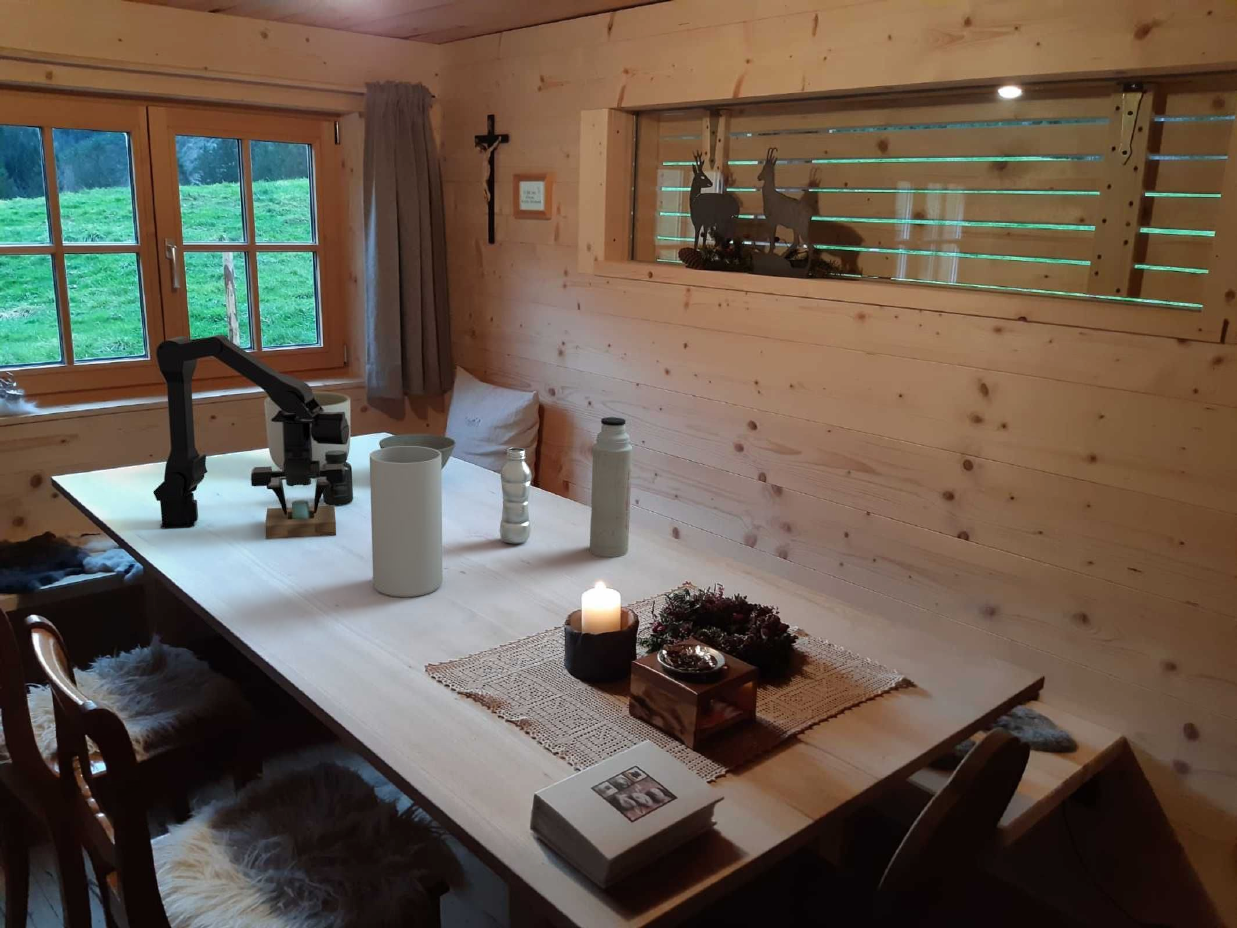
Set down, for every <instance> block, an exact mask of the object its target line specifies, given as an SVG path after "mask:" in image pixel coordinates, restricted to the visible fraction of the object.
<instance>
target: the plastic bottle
mask: <svg viewBox="0 0 1237 928" xmlns="http://www.w3.org/2000/svg"><path fill="white" fill-rule="evenodd" d="M506 452H507V453H506V459H507V462H506V463H505V464H504V465H503V468H502V469H501V472H500V484H501V489H502V511H501V519H500V520H501V521H500V524H499V534H500V535H499V536H500V538H501V540H502V542H504V543H508V544H521V543H525V542H527V541H528V540H529V538H530V537H531V536H530V535H531V532H532V531H531V530H532V529H531V522H530V516H529V515H530V514H529V495H530V487H531V483H532V472H531V469H530V467H529V465H528V463H527V462H525V460H526V450H525V448H521V447H510V448H507V450H506Z"/></svg>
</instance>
